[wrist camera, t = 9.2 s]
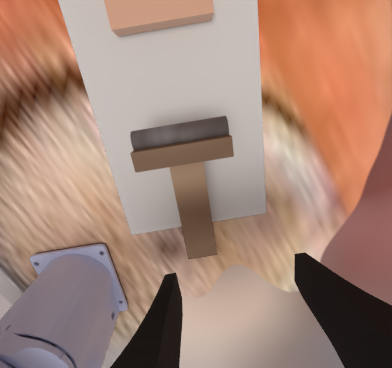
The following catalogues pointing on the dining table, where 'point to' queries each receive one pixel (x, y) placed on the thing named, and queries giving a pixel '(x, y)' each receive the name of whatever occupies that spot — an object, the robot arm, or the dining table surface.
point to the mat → (175, 103)
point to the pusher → (186, 171)
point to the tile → (155, 14)
